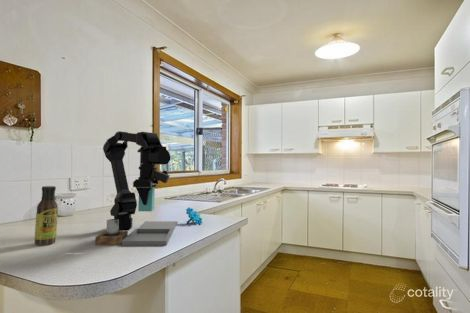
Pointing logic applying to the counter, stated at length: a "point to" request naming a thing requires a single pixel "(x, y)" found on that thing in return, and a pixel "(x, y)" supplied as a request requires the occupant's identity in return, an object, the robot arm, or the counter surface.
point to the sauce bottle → (46, 217)
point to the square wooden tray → (110, 238)
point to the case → (151, 234)
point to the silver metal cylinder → (112, 227)
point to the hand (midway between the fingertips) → (146, 203)
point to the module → (149, 202)
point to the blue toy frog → (193, 216)
